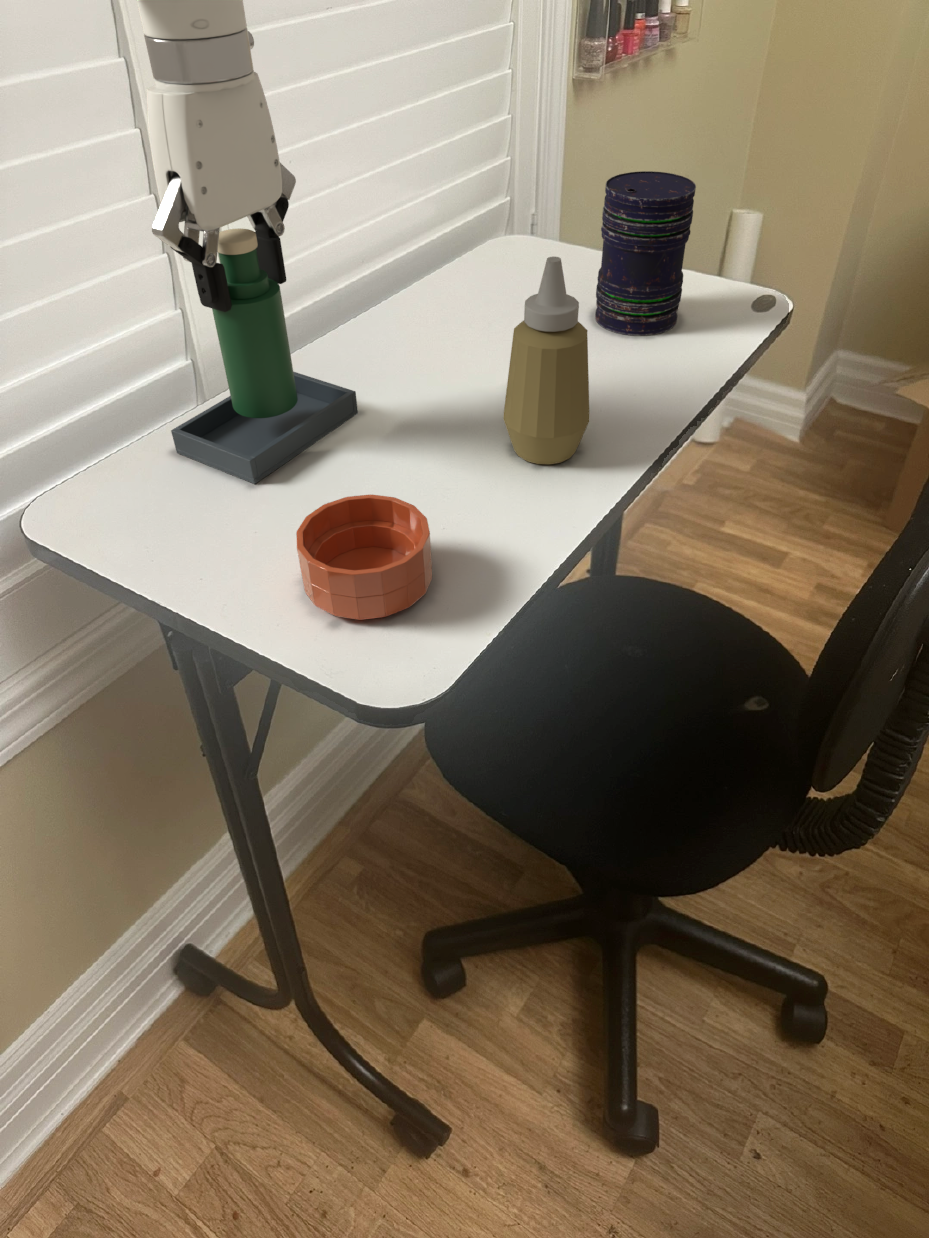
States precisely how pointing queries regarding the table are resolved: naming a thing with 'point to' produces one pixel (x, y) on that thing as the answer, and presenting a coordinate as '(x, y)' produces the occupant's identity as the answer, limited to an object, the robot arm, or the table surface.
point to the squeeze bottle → (548, 374)
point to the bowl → (365, 556)
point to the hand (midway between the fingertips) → (244, 292)
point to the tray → (264, 430)
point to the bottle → (253, 332)
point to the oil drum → (643, 251)
